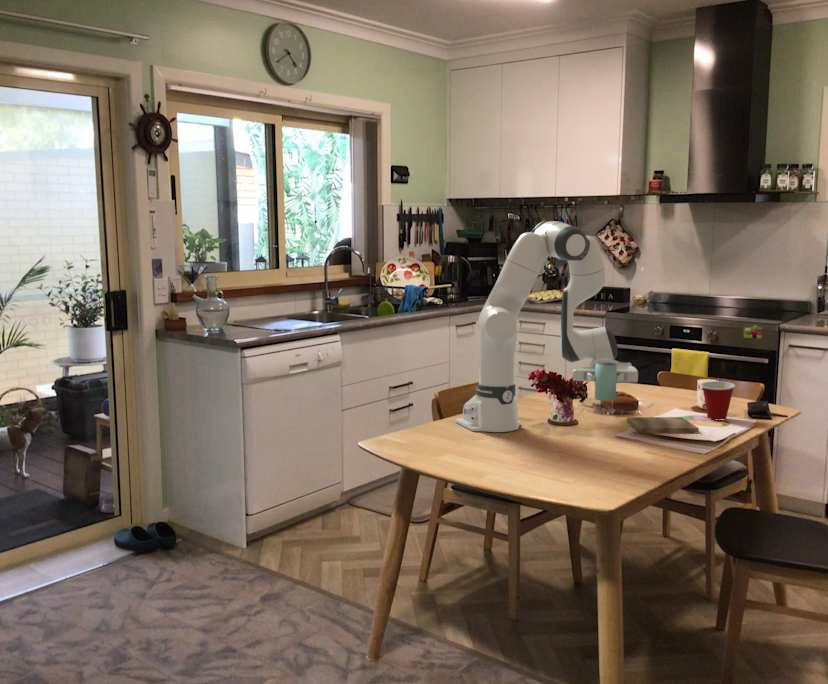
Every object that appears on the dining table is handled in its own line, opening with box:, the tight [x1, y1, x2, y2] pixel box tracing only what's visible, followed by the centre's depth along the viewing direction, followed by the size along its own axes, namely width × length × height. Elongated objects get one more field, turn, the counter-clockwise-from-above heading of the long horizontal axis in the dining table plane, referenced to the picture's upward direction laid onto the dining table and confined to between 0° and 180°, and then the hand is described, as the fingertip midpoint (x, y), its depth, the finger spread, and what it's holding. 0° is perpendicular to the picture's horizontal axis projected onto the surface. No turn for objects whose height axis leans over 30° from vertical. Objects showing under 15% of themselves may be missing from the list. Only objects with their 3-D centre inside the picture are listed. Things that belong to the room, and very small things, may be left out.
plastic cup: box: [700, 380, 736, 421], centre depth 269 cm, size 11×11×12 cm
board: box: [626, 416, 700, 434], centre depth 258 cm, size 18×16×2 cm
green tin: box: [594, 363, 617, 402], centre depth 250 cm, size 6×6×11 cm
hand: (605, 378), depth 249 cm, fingers closed on green tin, 6 cm apart
